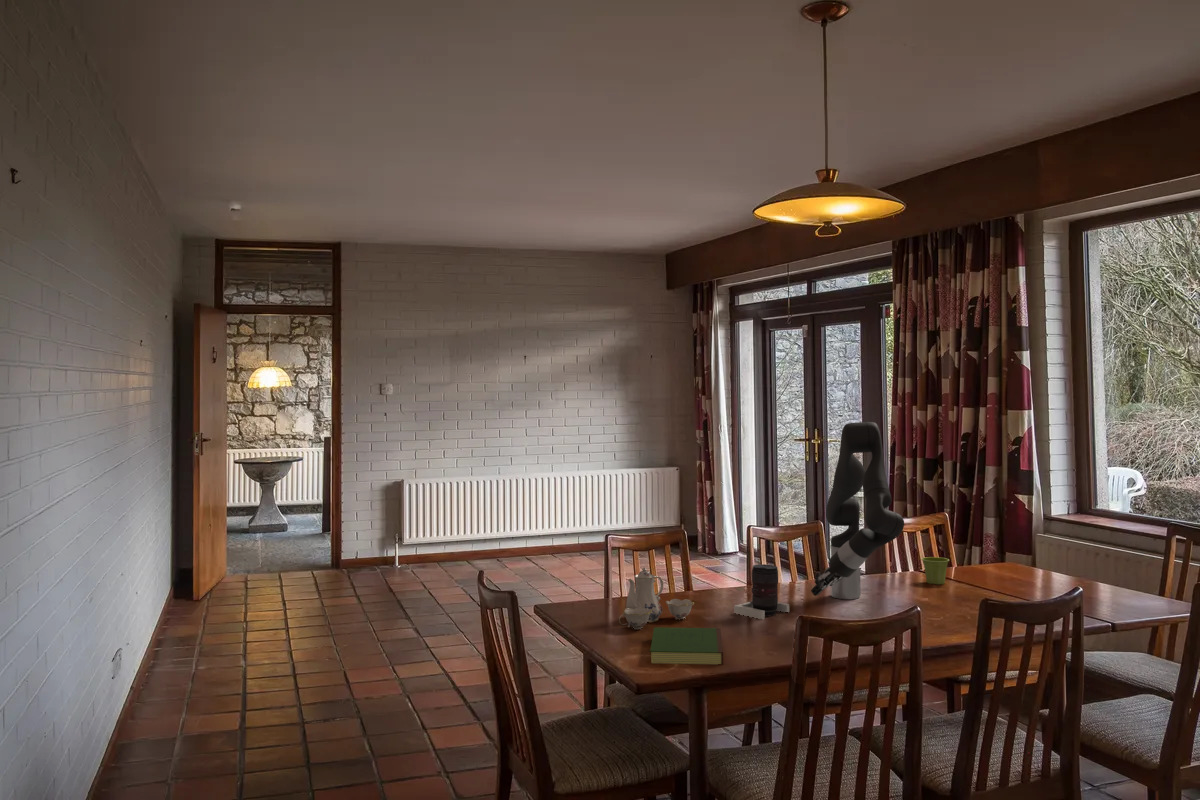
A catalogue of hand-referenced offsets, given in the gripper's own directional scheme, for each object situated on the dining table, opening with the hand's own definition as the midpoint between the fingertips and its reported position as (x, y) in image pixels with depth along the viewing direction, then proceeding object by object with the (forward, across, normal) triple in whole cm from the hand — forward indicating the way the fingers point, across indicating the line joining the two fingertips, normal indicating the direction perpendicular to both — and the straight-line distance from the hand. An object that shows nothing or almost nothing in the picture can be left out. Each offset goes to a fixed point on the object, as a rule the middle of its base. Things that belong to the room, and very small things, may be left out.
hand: (814, 593), depth 279 cm
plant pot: (+10, -80, +4) cm, 81 cm away
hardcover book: (+12, +48, +2) cm, 50 cm away
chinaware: (+33, +32, -19) cm, 50 cm away
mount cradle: (+21, 0, -7) cm, 22 cm away
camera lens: (+20, 0, -6) cm, 21 cm away
